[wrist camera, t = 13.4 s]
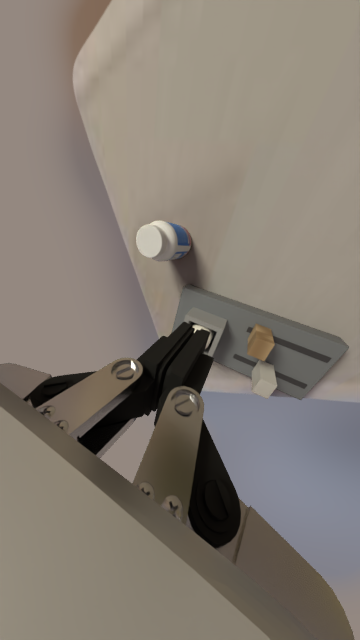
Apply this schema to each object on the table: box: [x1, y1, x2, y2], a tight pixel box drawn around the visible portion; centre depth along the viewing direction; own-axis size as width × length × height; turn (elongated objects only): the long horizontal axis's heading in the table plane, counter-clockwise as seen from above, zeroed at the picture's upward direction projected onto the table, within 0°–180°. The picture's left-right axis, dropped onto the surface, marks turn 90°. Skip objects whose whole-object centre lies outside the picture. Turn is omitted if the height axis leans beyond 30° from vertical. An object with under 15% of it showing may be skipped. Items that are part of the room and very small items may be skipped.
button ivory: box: [193, 323, 215, 349], centre depth 28 cm, size 4×4×4 cm
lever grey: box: [252, 359, 277, 399], centre depth 27 cm, size 2×3×5 cm
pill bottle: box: [136, 221, 191, 261], centre depth 26 cm, size 6×5×10 cm
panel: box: [172, 284, 349, 400], centre depth 29 cm, size 26×12×7 cm, turn 75°
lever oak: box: [247, 324, 275, 361], centre depth 25 cm, size 2×3×5 cm
